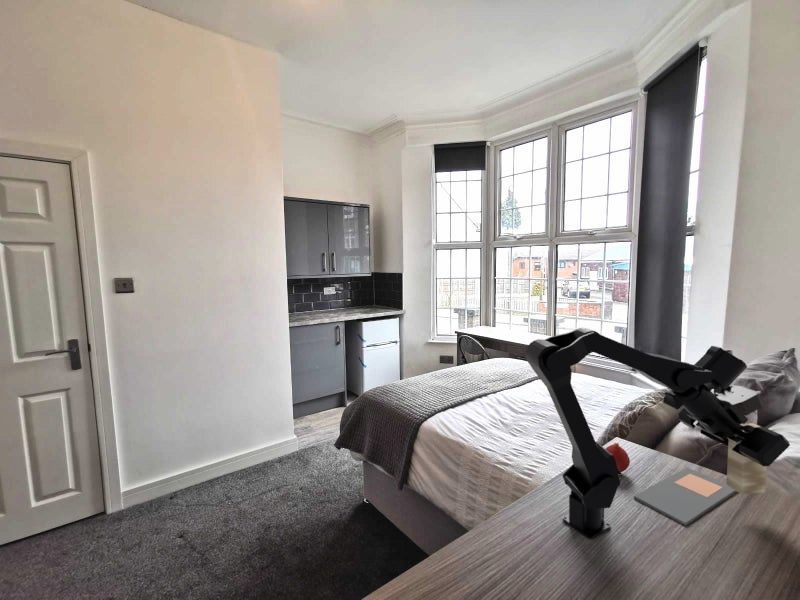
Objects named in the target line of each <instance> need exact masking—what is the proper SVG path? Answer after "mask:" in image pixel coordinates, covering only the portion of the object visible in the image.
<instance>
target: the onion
mask: <svg viewBox="0 0 800 600" xmlns="http://www.w3.org/2000/svg"><path fill="white" fill-rule="evenodd" d="M605 449H606V450H607V451H608V452H609V453H611V454H612V455H613V456H614V458H615V461H616V465H617V468H618V470H619V471H620V472H621V473H622V472H625V471H626V470H627V469H628V468H629V467H630V465H631V463H630V461H631V460H630V456H629V455H628V453H627V452H626V450H625V449H624V448H623V447H622V446H620V444H619V442H614V443H613V444H610V445H609V446H607V447H606V448H605Z"/></svg>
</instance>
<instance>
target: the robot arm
mask: <svg viewBox="0 0 800 600" xmlns="http://www.w3.org/2000/svg"><path fill="white" fill-rule="evenodd" d="M526 347H527V348H526V349H525V351H524V355H525V359H526V361H527V363H528V364H529V365H530V367H531V369H532V371H534V373H535V375H537V377H538V378H539V379H540V381H541V382H542V383H543V384H544V386H545V387H546V389H547V391H548V394H549V395H550V398H551V400H552V403H553V406H554V407H555V410H556V412H557V414H558V416H559V418H560V421H561V424H562V427H563V428H564V431H565V433H566V435H567V437H568V439H569V442H570V444H571V447H572V450H571V460H572V464H571V465H570V467H569V468H567V470H566V471H565V472H564V473H563V474H562V478H563V481H564V483H565V485H566V486H567V487H568V488H569V489H570V494H569V497H568V502H569V503H568V507H569V508H568V514H565V515H564V516H562V521H563V522H565V523H566V524H568V526H570V527H572V528H573V529H575V530H576V531H577V532H579V533H580V534H582V535H583V536H584V537H586V538H587V539H590V540H591V539H594V538H596V537H597V536H599V535H601V534H603V533H604V532H606V531H608V530H609V529H611V528H612V524H610V523H609V522H608V521H606V520H604V519H605V509H610V508H611V506H612V503H613V501H614V498H615V495H616V493H617V490H618V489H619V487H620V486H621V477H620V476H622V475H623V473H622V472H620V471H619V470H618V468H617V465H616V461H615V458H614V456H613V455H612V454H611V453H609V452H608V451H607V450H606V448H605V447H603V446H602V445H601V444H600V443H598V442H597V441H596V440H595V438H594V436H593V433H592V431H591V428H590V426H589V424H588V421H587V419H586V416H585V414H584V411H583V409H582V408H581V404H580V402H579V400H578V398H577V395H576V393H575V391H574V389H573V386H572V383H571V382H572V375H573V374H572V372H573V371H572V366H575V365H577V364H579V363H580V362H581V361H582V360H583V359H584V358H586V357H587V356H588V355H589V354H592V353H594V354H597V355H599V356H602V357H604V358H608V359H610V360H612V361H615V362H618V363H619V364H622V365H624V366H628V367H630V368H632V369H634V370H635V371H637V372H638V373H639V374H641V375H642V376H643V377H645V378H646V379H648V380H650V381H651V382H653V383H655V384H657V385H660V386H662V387H664V388H667V389H668V390H669V389H670V390H669V391H664V397H663V399H662V403H663V404H665V405H667V406H669V407H671V408H673V409H675V410H680V408H681V407H683V409H682V410H680V411H679V413H678V420H679V421H680V422H681V423H682V424H683V425H685V426H686V427H689V428H691V429H692V430H694V429H695V428H696V427H697V428H700V434H701V435H702V436H705V437H707V438H709V439H710V440H713V441H715V442H718V443H719V444H722V445H724V446H727V447H728V441H729V439H730V440H732V441H734V442H736V443H738V444H737V445H736V446H735V447H734V448H733V449H732V450H733V451H735V452H737V453H739V454H740V455H742V456H744V457H747V458H749V459H750V460H752V461H754V462H756V463H758V464H760V465H762V466H767V467H770V466H771V465H772V464H773V463H774V462H775V461H776V460H777V459H778V458H779V457H780V456H781V455H782V454H783V453H784V452H785V451H786V450H787V449H788V448H789V447H790V446H791V445H790V441H789V440H788V439H787V438H786V437H785V436H784V435H783V434H781V433H779V432H776V431H775V430H774V431H773V430H772V429H769V428H767V427H764V426H760V427H756V428H755V427H752V426H750V425H746V426H742V425H740V424H747V422H748V421H749V418H747V416H748V415H750V414H752V413H754V412H755V411H758V410H762V409H763V408H764V405H763V402H762V399H761V397H760V395H759V392H758V391H756V390H753V389H750V388H748V387H745V386H741V385H734V384H733V383H734V381H736V379H738V377H740V376H741V375H742V374H743V373H744V372H745V370H747V369H748V365H747V363H746V362H744V361H743V360H742V359H740V358H738V357H736V356H735V355H734V354H732V353H729V352H727V351H725V350H724V349H723V348H722V347H720V346H715V345H710V347H709V348H708V349H707V350H706V352H705V353H704V355H702V357H701V358H700V359H699V360H698V361H697V362H696V363H695V364H691V363H689V362H685V361H681V360H678V359H675V358H671V357H669V356H665V355H661V354H657V353H656V354H655V353H652V352H645V351H644V352H643V351H642V350H639V349H637V348H634V347H632V346H629V345H626V344H624V343H622V342H619V341H616V340H614V339H612V338H609V337H607V336H605V335H603V334H602V335H601V334H600V333H599V332H598V331H596V330H592V329H590V328H586V327H579V328H575V329H573V330H571V331H569V332H565V333H561V334H556V335H552V336H550V337H547V338H545V339H543V338H541V339H539V338H538V339H536V340H535V339H534V340H533V341H531V342H530V343H529V344H528V345H527V346H526ZM710 389H712V390H713V392H712V391H711V390H710ZM695 422H697V423H696V424H695ZM743 431H744V432H743Z"/></svg>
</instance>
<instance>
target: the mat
mask: <svg viewBox="0 0 800 600" xmlns="http://www.w3.org/2000/svg"><path fill="white" fill-rule="evenodd" d="M726 484H727V482H724V481H721V480H719V479H717V478H714V477H712V476H709V475H706V474H704V473H702V472H699V471H697V470H694V469H692V468H690V467H684V468H683V469H681V470H680V471H677V472H676V473H674V474H672V475H670V476H668V477H667V478H665V479H663V480H660V481H659V482H657V483H655V484H654V485H652V486H649V487H648V488H646V489H644V490H643V491H640V492H638V493H637V494H635V495H634V496H633V499H635V500H636V501H638V502H640V503H642V504H643V505H646V507H647V506H648V507H650V508H651V509H653V510H655V511H657V512H659V513H661V514H662V515H664V516H666V517H668V518H669V519H671V520H674V521H676V522H678V523H679V524H681V525H683V526H688V525H689V524H690V523H692V522H693V521H695V520H697V519H698V518H700V516H702V515H704V514H706V513H707V512H708V511H710V510H711V509H713V508H714V507H716V506H718V505H719V504H720V503H722V502H723V501H724V500H726V499H728V498H729V497H731V496H732V495H734V494H735V493H738V492H737V491H735V490H734V489H732V488H731V487H729V486H728V485H726Z"/></svg>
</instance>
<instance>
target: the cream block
mask: <svg viewBox="0 0 800 600" xmlns="http://www.w3.org/2000/svg"><path fill="white" fill-rule="evenodd" d="M740 425H742V426H746V425H750V426H752V427H755V428H756V427H761V425H759V424H755V423H753V422H751V423H745V424H742V423H741V424H740ZM743 432H744V431H743ZM737 444H738V443H736V442H734V441H732V440H730V439H729V441H728V446H727V466H726V468H727V470H726V483H727V484H726V485H728V486H729V487H731V488H732V489H734V490H735V491H737V492H736V493H739V494H740V495H750V494H765V493H766V489H767V487H766V486H767V469H768V466H762V465H760V464H758V463H756V462H754V461H752V460H750V459H749V458H747V457H744V456H742V455H740V454H739V453H737V452H735V451H733V450H732V449H733V448H734V447H735V446H736V445H737Z"/></svg>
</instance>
